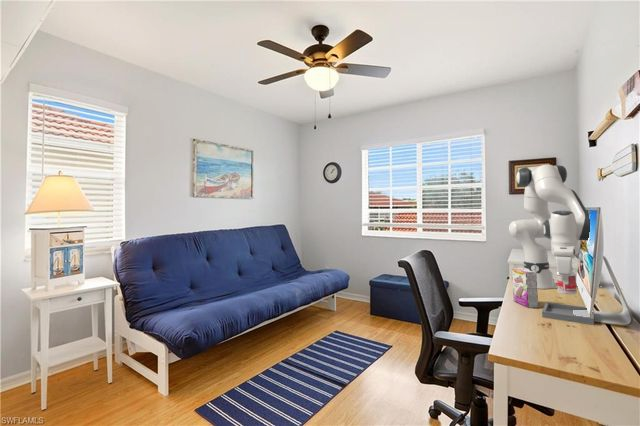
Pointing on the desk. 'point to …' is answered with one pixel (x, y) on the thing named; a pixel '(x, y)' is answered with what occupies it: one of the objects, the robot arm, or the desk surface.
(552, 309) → the grey tray
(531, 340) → the desk surface
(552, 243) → the robot arm
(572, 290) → the pill bottle
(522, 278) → the candy bar box
